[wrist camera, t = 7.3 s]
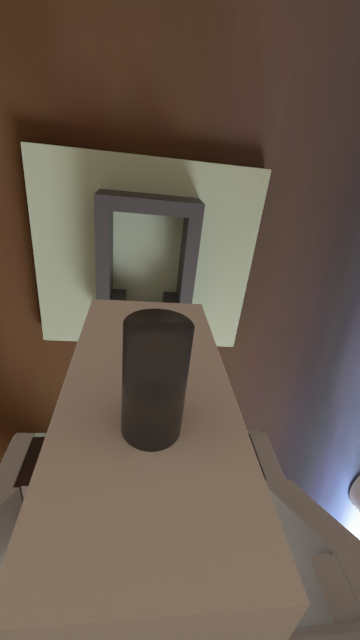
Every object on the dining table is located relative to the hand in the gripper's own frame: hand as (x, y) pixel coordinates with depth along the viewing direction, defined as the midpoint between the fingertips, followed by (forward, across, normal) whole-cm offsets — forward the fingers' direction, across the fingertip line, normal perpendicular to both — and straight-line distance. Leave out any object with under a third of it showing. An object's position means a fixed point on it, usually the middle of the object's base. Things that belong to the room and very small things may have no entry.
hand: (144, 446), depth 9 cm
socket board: (+21, 0, +1) cm, 21 cm away
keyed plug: (+4, 0, 0) cm, 4 cm away
